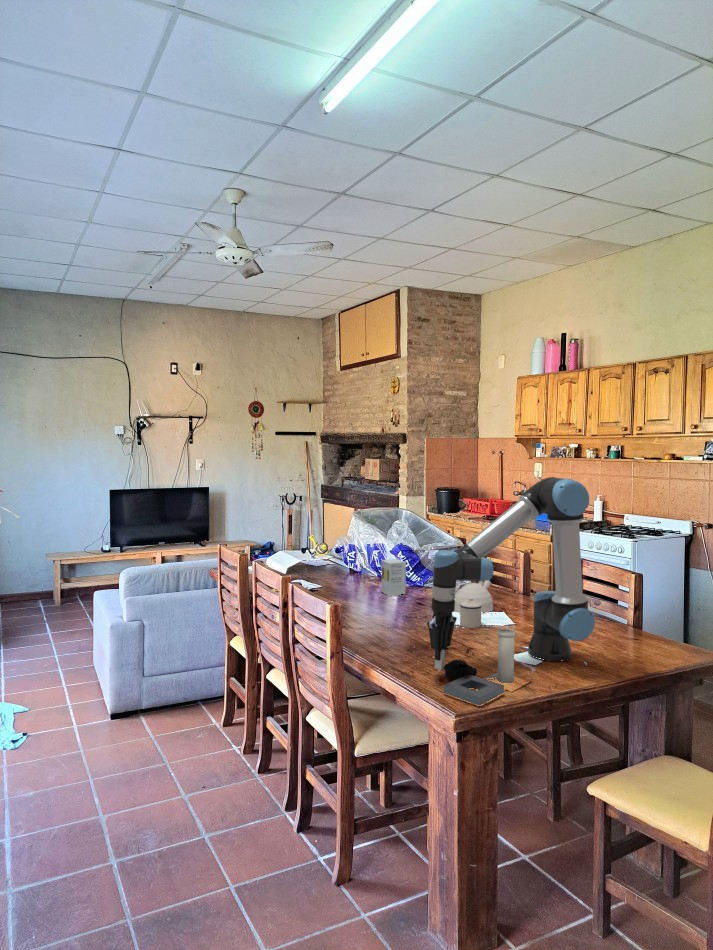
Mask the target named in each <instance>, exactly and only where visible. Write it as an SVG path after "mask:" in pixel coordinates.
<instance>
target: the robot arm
mask: <svg viewBox="0 0 713 950" xmlns="http://www.w3.org/2000/svg"><path fill="white" fill-rule="evenodd" d="M587 489H588V488H586V486H584V484H583V483H581V482H579V481H577V480H574V479H571V478H563V477H561V478H560V477H552V476H550V477H546V478H542V479H541V480H539V481H538V482H536V483H535V484H533V485H532V486H531V487H529V488H527V490H525V491H524V492H523V493H521V494H520V495H519V496H518V501H516V502H515V503H514V504H513V505H512V506H510V507H509V508H508V509H506V511H504V512H503V513H501V514H500V515H499V516H498V517H496V518H495V520H493V521H492V522H491V523H490V524H488V525H487V526H486V527H485V528H484V529H482V530H481V531H480V532H478V533H477V534H476V535H475V536H474V537H472V538H471V539H470V540H468V541H467V542H466V543H465V544H464V545H463V546H461V547H460V548H453V549H451V550H446V549H442V550H437V551H436V552H435V554H434V558H433V574H432V575H433V576H432V577H433V578H432V589H431V597H432V599H431V604H430V605H431V607H430V608H431V610H432V611H433V613H432V616H431V617H432V619H431V620H430V621H427V622H426V624H427V627H428V632H429V642H430V649H432V650H434V669H436V670H438V671H445V670H444V666H445V659H446V652H447V651H449V648H450V647H451V644H452V639H453V635H454V634H453V633H454V630H455V629H454V628H455V624H456V622H457V619H458V618H457V617H456V616H453V613H454V612H455V611H454V610H455V600H454V599H455V590H456V588H457V582H479V581H483V582H485V581H488V580H489V581H490V580H491V579H492V578H493V576H494V564H493V562H492V560H491V559H490V558H488V557H486V556H487V555H489V554H490V553H491V552H492V551H494V549H496V548H497V547H499V545H501V544H502V543H503V542H505V540H507V539H508V538H509V537H511V536H512V535H513V534H514V533H515V532H517V531H518V530H519V529H520V528H521V527H523V526H524V525H525V524H526V523H528V522H529V521H531V519H533V518H538V517H539V516H541V515H543V514H544V513H546V516H547V521H548V522H550V523H551V524H552V542H553V543H552V545H553V561H554V563H553V564H554V579H555V580H554V581H555V582H554V583H555V590H543V591H537V592H535V594H534V597H533V632H532V636H531V638H530V641H529V643H528V648H527V649H528V650H527V653H529V654H530V655H532V656H534V657H537V658H541V659H544V660H549V661H548V662H551V661H561V660H567V659H569V658H571V657H572V658H573V651H572V647H571V643H570V641H571V642H579V641H580V642H581V641H584V640H586V639H587V638H588V637H590V635H591V634H592V633H593V632H594V629H595V626H596V618H595V615H594V614H593V613H592V611H590V610H589V603H588V602H589V601H588V597H586V595H584V593H583V578H582V577H583V576H582V575H583V574H582V558H581V557H582V556H581V555H582V553H581V535H580V534H581V533H580V524H581V522H582V521H583V520H584V517H585V516H584V513H585V512H586V509H587V508H589V505H590V495H589V492H588V490H587ZM529 654H528V655H529ZM530 655H529V656H530ZM572 658H571V659H572ZM544 660H543V661H544ZM567 661H568V660H567ZM561 662H562V661H561Z"/></svg>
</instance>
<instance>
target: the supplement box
mask: <svg viewBox="0 0 713 950" xmlns="http://www.w3.org/2000/svg"><path fill="white" fill-rule="evenodd" d="M406 566H407V562H406V561H403V560H401V559H398V558H391V559H390V558H389V559H381V584H380V585H381V587H380V589H381V590H380V591H381V592H383V593H385V594H387V595H389V596H391V597H393V596H392V595H400V596H402V595H401V594H405V595H406V587H407V585H406V584H407V583H406V582H407V581H406V580H407V579H406V577H407V576H406V572H407V567H406ZM383 593H382V594H383ZM385 594H384V595H385ZM387 595H386V596H387ZM389 596H388V597H389Z"/></svg>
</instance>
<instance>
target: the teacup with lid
mask: <svg viewBox="0 0 713 950" xmlns="http://www.w3.org/2000/svg"><path fill="white" fill-rule="evenodd" d="M481 607H482V605H481V603H479V602H476V601H475V600H473V598H471V597H470V598H468V600H466V601H464V602H461V603H460V612H459V625H460V626H461V627H463V628H467V629H477V628H480V627H481V626H482V613H481Z"/></svg>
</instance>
